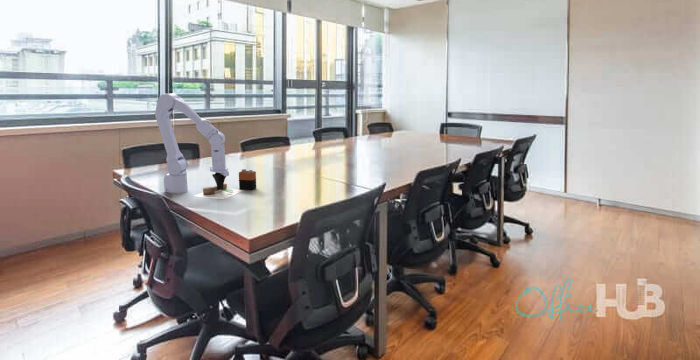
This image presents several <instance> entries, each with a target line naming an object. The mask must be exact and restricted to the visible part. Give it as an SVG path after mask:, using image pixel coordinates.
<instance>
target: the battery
mask: <svg viewBox="0 0 700 360" xmlns="http://www.w3.org/2000/svg"><path fill="white" fill-rule="evenodd" d="M238 185H239V189H238V190H244V191H254V190H256V189H257V172H256V171H255V170H253V169H249V170H247V169H244V168H243V169H241V171H239V172H238Z"/></svg>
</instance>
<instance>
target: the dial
mask: <svg viewBox="0 0 700 360" xmlns="http://www.w3.org/2000/svg"><path fill="white" fill-rule="evenodd" d="M225 188H228V185H227V183H224V186H223V189H225ZM221 190H222V189H221ZM215 191H219V190H218V189H217V185H215V186H206V187H203V188H202V193H203V194H204V195H213V194H215Z"/></svg>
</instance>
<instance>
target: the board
mask: <svg viewBox="0 0 700 360" xmlns="http://www.w3.org/2000/svg"><path fill="white" fill-rule="evenodd" d="M244 191H245V190H240V189H236V188H235V189H234V188H228V187H227V188H225V189H222V190H219V191H215V194H213V195H204V194H203V192H200V193H197V194H195V195H194V197H196V198H206V199H215V200H225V199H227V198H230V197H232V196H234V195H236V194H239V193H241V192H244Z"/></svg>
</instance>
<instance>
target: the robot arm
mask: <svg viewBox="0 0 700 360" xmlns="http://www.w3.org/2000/svg"><path fill="white" fill-rule="evenodd" d="M173 111H178V112H181V113H183V115H184V116H186V117H187V118H189V120H191V121H192V122H193V123H194V124H195V127H196V129H197V130H198V132H200V133H201V135H203V136H204V137H205V138H206V139H207V140H208V143H209V144H210V147H211V148H210V149H211V151H210V152H211V166H210V167H209V171H210V172H212V173H213V174H211V175H212V177H213V180H214V181H215V184H216V186H217V189H218V190H221V189H223V186H224V184H225V180H226V178H227V176H230V173H229V171H228V170H229V168H228V167H226V151H225V150H226V149H225V142H226V136H225V134H224V133H223V132H222V131H219V129H218V128H216V127H215V126H214V125H213V124H212V122H211V121H210V120H208V119H206V118H202V117H200V116H199V114H198V113H197V112H196V111H195V110H194V109H193V108H192V107H191V106H190V105H189V104H188V103H187V102H186V100H184V99H183V98H182V97H180V95H179V94H177V93H173V92H172V93H162V94H161V95H159V97H158V98H157V100H156V107H155V111H154V117H155V119H156V120H155V121H156V124H157V126H158V130H159V132H160V135H161V136H160V137H161V139H162V142H163V145H164V149H165V152H166V159H165V160H166V171H167V173H166V174H165V175H164V177H163V186H164V192H165V193H171V194H184V193H188V191H189V189H188V187H189V186H188V175H187V168H188V167H189V163H188V161H187V159H186V158H185V157H184V154H183V153H182V152H181V151H180V148H179V145H178V142H177V139H176V135H175V133H174V129H173V126H172V123H171V122H172V121H171V118H170V115H171V114H172V113H173Z"/></svg>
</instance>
